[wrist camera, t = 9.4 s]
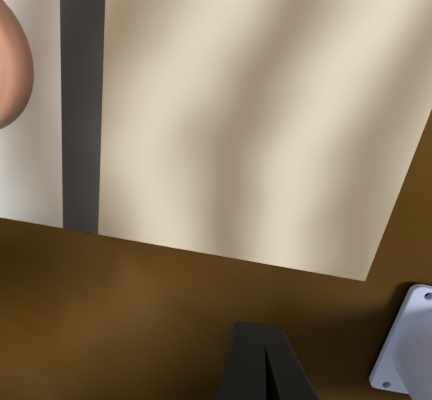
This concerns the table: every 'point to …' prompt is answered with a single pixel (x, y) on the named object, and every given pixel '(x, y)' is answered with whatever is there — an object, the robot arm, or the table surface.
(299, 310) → the table surface
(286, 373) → the robot arm
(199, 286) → the table surface
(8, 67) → the puck
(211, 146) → the board
